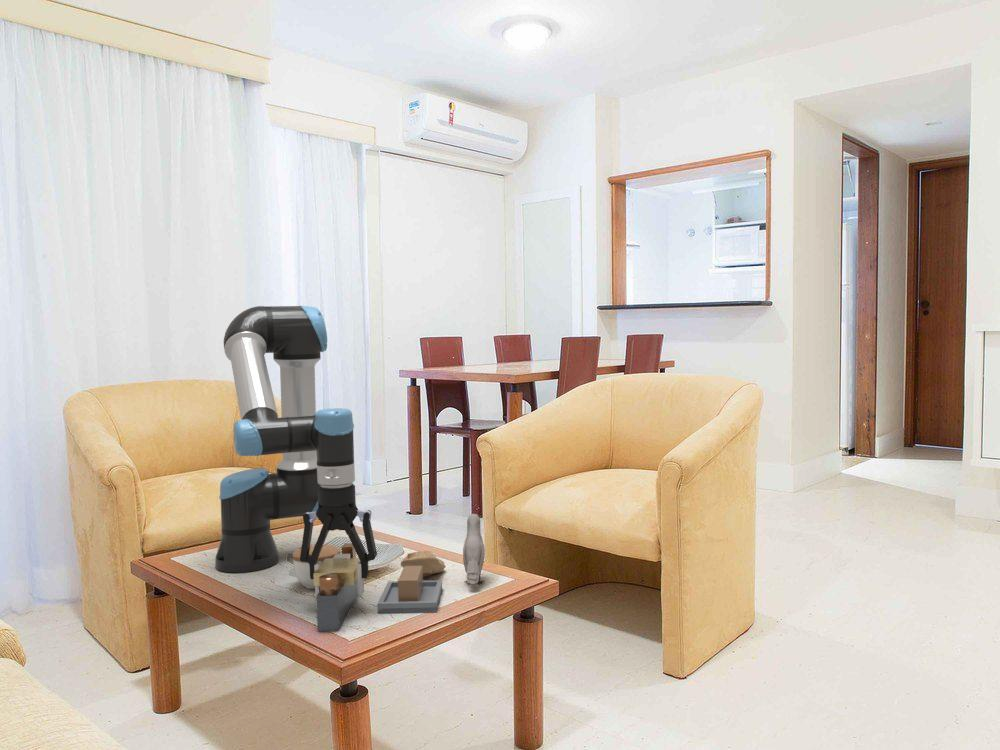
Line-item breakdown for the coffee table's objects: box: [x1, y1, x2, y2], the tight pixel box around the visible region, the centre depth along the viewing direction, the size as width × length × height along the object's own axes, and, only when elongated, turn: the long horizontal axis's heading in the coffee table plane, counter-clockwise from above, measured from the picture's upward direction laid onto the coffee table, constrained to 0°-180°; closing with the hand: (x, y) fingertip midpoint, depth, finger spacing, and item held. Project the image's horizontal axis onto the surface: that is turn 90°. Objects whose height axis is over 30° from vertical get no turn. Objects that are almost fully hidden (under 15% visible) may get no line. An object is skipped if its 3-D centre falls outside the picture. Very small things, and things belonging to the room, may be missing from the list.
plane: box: [315, 542, 359, 633], centre depth 154 cm, size 22×4×11 cm, turn 0°
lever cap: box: [313, 553, 360, 586], centre depth 154 cm, size 10×8×4 cm
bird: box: [462, 513, 486, 586], centre depth 169 cm, size 5×14×15 cm, turn 179°
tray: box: [376, 566, 443, 614], centre depth 159 cm, size 14×12×6 cm
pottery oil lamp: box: [400, 550, 446, 577], centre depth 174 cm, size 9×12×7 cm
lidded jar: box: [291, 543, 342, 589], centre depth 171 cm, size 11×11×9 cm
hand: (340, 593), depth 154 cm, fingers closed on lever cap, 8 cm apart
